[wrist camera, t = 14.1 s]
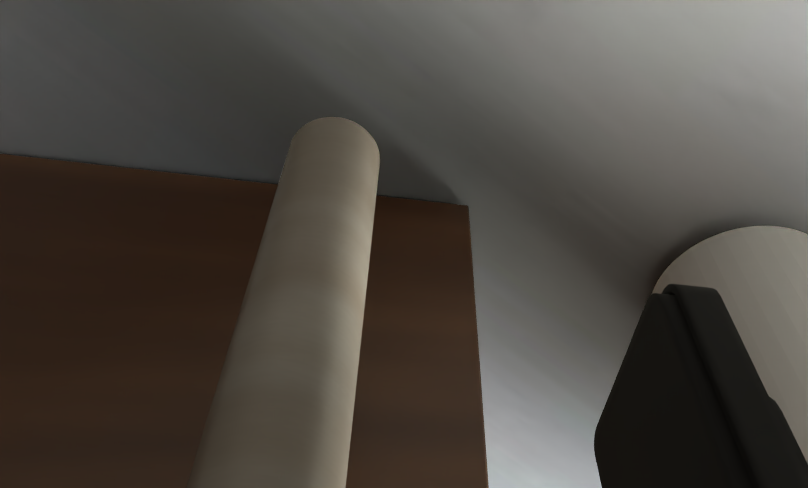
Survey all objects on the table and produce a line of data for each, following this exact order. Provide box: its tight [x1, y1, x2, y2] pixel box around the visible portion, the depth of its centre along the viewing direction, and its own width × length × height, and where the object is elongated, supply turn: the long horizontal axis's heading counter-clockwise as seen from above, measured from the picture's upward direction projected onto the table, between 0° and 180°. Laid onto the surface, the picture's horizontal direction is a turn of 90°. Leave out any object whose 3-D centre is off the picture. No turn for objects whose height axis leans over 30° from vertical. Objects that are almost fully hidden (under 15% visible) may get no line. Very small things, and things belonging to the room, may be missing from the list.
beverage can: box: [652, 226, 808, 464], centre depth 22 cm, size 6×6×12 cm
